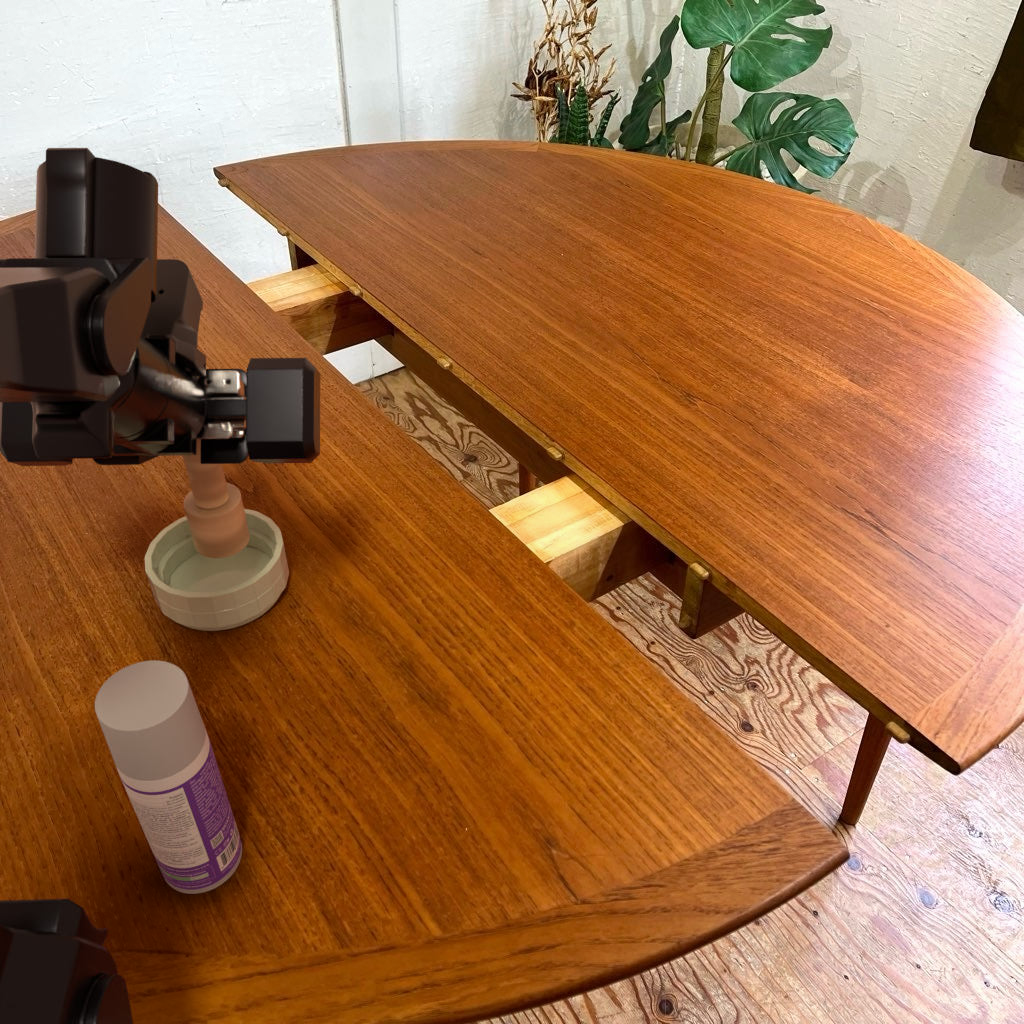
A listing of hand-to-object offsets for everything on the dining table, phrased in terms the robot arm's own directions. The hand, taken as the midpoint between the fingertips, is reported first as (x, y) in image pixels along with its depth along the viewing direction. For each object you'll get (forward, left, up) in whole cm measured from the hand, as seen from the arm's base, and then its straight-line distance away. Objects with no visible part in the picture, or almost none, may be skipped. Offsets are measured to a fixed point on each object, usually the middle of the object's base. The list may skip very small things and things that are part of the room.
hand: (203, 435), depth 67 cm
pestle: (-1, 0, -9) cm, 9 cm away
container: (-22, -10, -14) cm, 28 cm away
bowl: (-1, 0, -13) cm, 14 cm away
